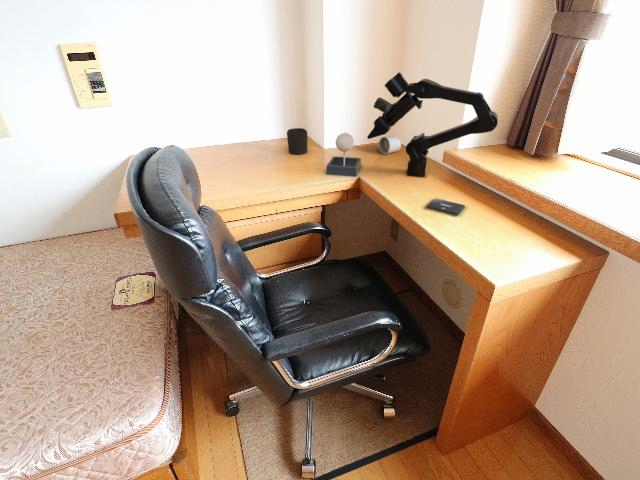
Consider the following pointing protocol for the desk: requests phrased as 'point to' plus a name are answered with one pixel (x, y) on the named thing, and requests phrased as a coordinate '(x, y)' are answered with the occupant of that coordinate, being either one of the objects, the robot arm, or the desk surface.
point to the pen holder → (297, 141)
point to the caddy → (344, 169)
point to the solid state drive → (446, 206)
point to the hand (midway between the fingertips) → (371, 135)
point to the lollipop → (344, 143)
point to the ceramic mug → (389, 144)
